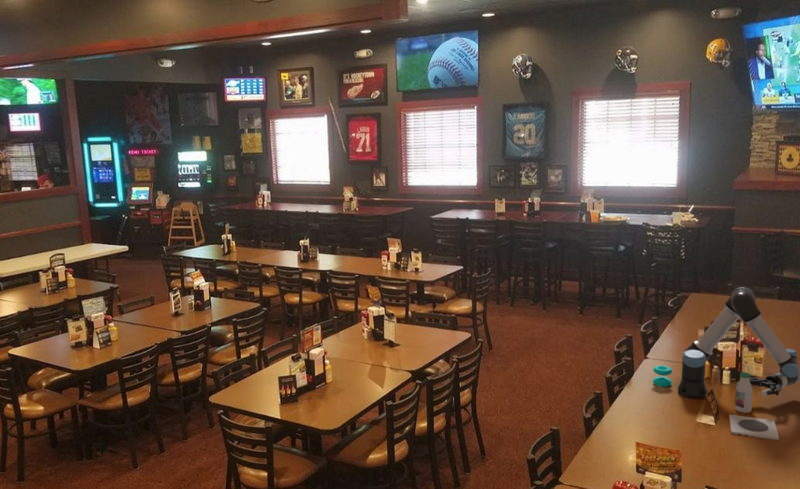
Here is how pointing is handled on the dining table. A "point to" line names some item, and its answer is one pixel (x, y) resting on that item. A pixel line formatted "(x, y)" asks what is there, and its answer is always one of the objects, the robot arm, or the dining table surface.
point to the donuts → (663, 371)
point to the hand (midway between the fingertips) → (749, 389)
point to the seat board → (753, 427)
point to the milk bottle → (743, 394)
